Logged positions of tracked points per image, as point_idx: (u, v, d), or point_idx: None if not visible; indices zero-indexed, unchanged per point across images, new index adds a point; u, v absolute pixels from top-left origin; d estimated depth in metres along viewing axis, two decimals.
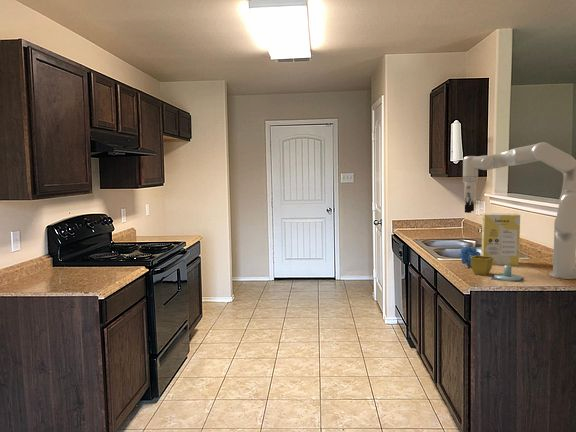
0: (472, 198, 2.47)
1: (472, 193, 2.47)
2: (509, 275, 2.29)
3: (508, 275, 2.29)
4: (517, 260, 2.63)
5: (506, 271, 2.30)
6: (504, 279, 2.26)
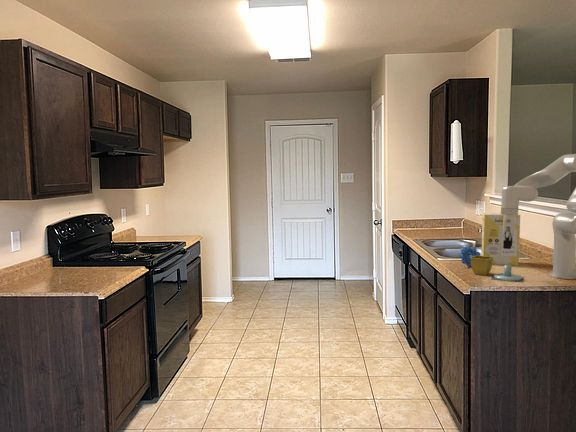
0: (512, 233, 2.23)
1: (512, 227, 2.23)
2: (509, 275, 2.29)
3: (508, 275, 2.29)
4: (517, 260, 2.63)
5: (506, 271, 2.30)
6: (504, 279, 2.26)
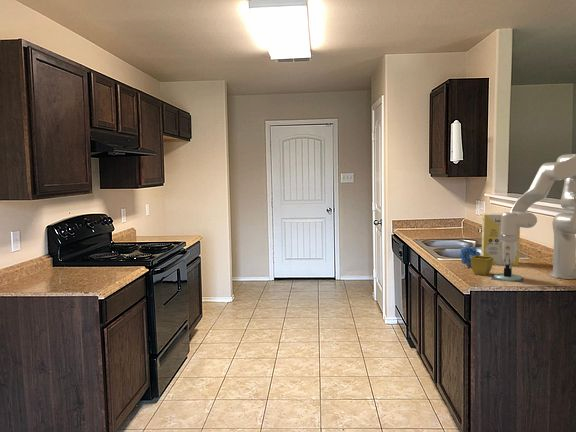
0: (512, 260, 2.25)
1: (512, 254, 2.25)
2: None
3: None
4: (517, 260, 2.63)
5: None
6: (504, 279, 2.26)
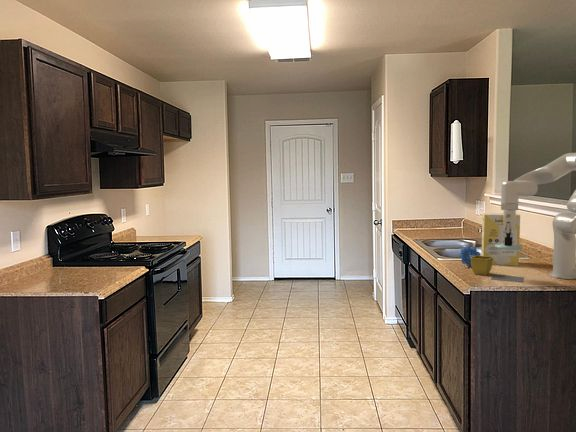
0: (513, 228, 2.23)
1: (513, 222, 2.23)
2: None
3: None
4: (517, 260, 2.63)
5: None
6: (505, 248, 2.25)
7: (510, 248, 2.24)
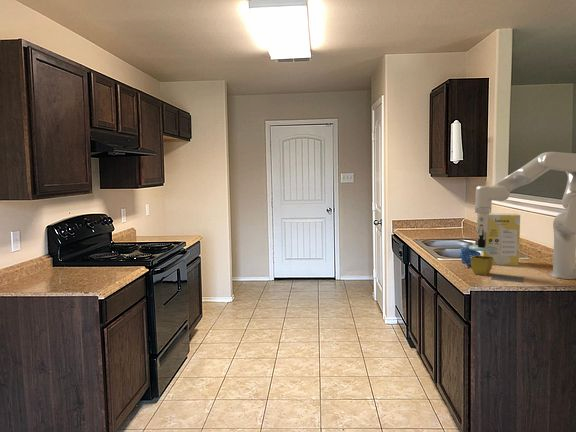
0: (485, 231, 2.35)
1: (485, 225, 2.35)
2: None
3: None
4: (517, 260, 2.63)
5: None
6: (478, 249, 2.36)
7: (482, 250, 2.35)
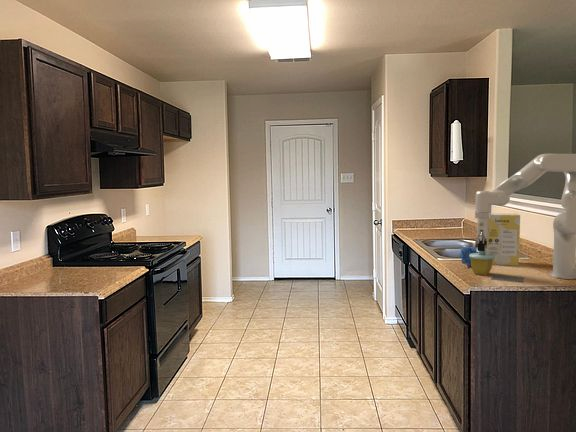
0: (485, 236, 2.35)
1: (485, 230, 2.35)
2: (483, 254, 2.40)
3: (482, 254, 2.40)
4: (517, 260, 2.63)
5: None
6: (478, 257, 2.37)
7: (483, 258, 2.36)
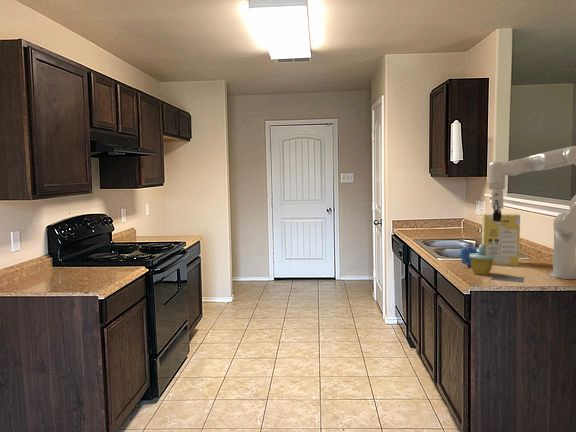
0: (501, 206, 2.36)
1: (500, 200, 2.36)
2: (483, 254, 2.40)
3: (482, 254, 2.40)
4: (517, 260, 2.63)
5: (480, 250, 2.40)
6: (478, 257, 2.37)
7: (483, 258, 2.36)
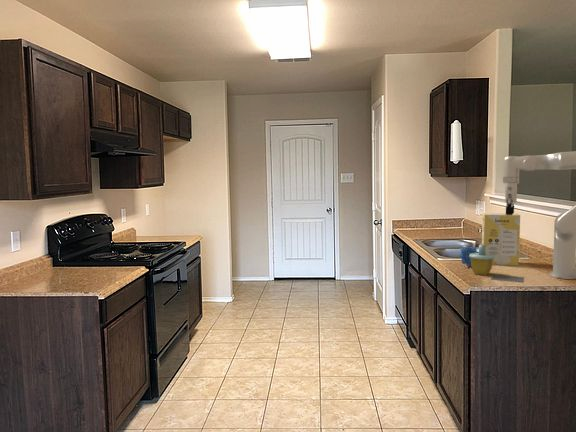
0: (514, 200, 2.38)
1: (514, 194, 2.38)
2: (483, 254, 2.40)
3: (482, 254, 2.40)
4: (517, 260, 2.63)
5: (480, 250, 2.40)
6: (478, 257, 2.37)
7: (483, 258, 2.36)
